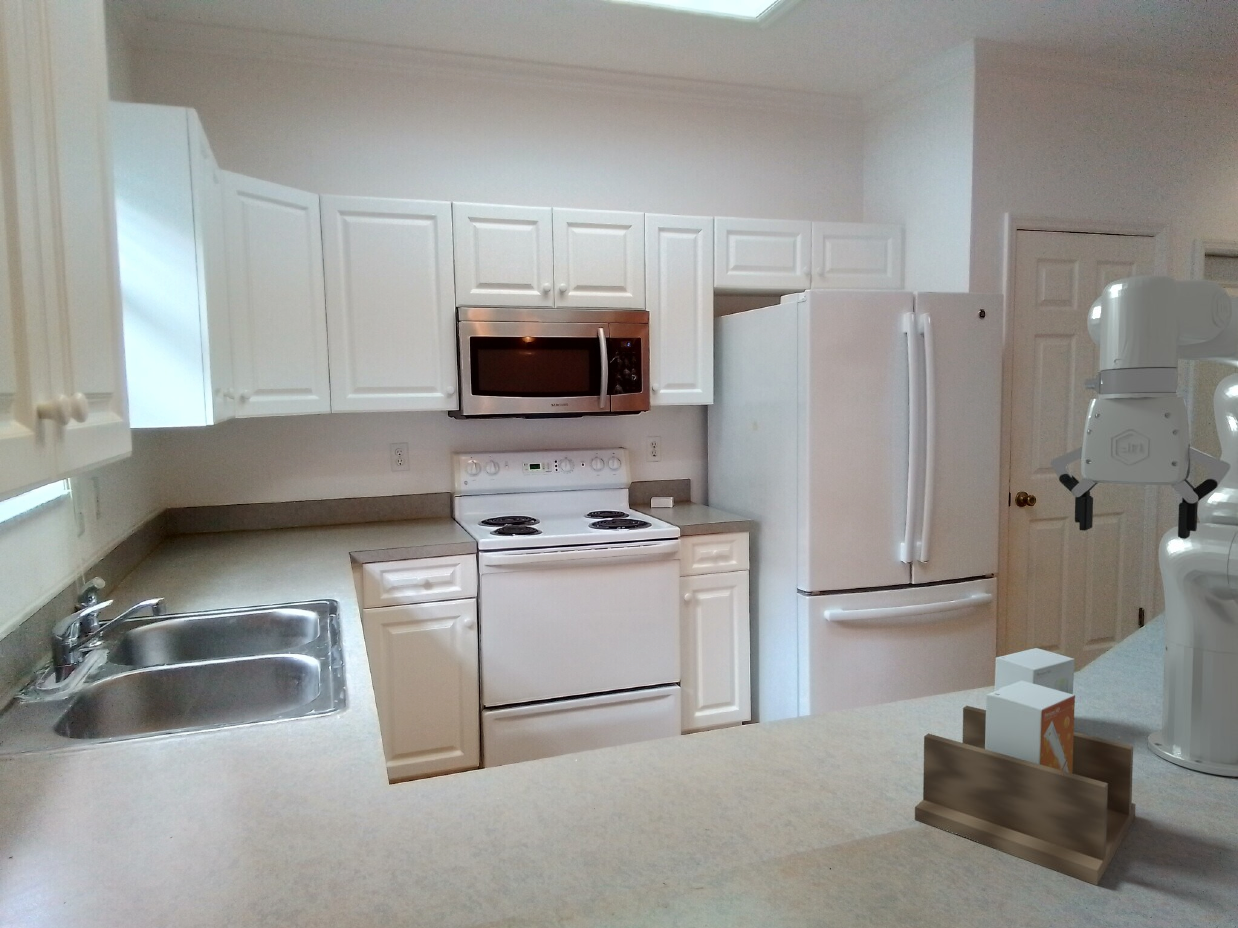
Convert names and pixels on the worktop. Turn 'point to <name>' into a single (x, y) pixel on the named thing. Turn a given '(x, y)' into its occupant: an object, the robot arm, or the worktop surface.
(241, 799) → the worktop surface
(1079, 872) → the book rack
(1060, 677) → the skincare box
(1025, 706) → the small box
